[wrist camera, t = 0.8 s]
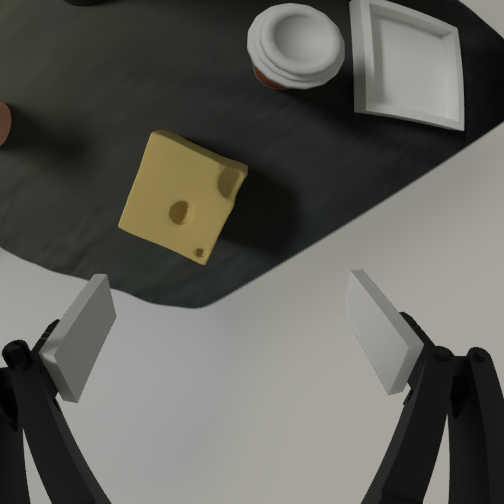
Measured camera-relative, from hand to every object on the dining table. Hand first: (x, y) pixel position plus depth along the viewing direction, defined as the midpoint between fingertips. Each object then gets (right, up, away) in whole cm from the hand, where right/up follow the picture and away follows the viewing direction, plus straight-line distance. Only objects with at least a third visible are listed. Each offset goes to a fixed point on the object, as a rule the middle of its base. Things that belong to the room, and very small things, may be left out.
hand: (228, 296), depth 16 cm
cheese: (-6, +11, +21) cm, 24 cm away
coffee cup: (+5, +25, +16) cm, 30 cm away
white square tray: (+22, +28, +16) cm, 39 cm away
